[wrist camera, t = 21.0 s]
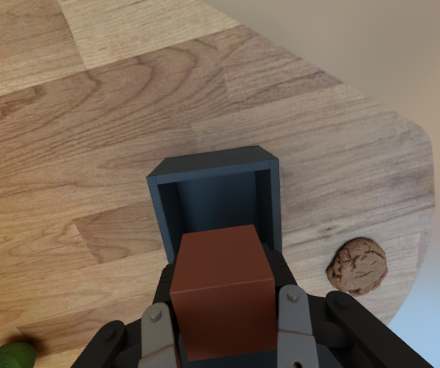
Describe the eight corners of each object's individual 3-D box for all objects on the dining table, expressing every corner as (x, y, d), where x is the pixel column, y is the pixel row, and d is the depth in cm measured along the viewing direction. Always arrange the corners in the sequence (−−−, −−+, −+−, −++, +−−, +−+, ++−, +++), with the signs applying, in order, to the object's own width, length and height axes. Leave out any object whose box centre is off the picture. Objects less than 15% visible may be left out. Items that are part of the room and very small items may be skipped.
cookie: (382, 231, 33) (398, 241, 30) (381, 280, 37) (396, 294, 34) (322, 245, 34) (332, 257, 31) (327, 292, 37) (336, 307, 34)
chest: (165, 158, 28) (145, 177, 19) (258, 145, 28) (278, 158, 19) (187, 258, 33) (180, 307, 25) (265, 247, 33) (283, 293, 25)
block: (182, 233, 13) (168, 292, 9) (253, 223, 13) (275, 278, 9) (194, 288, 15) (188, 362, 10) (258, 279, 15) (278, 350, 10)
